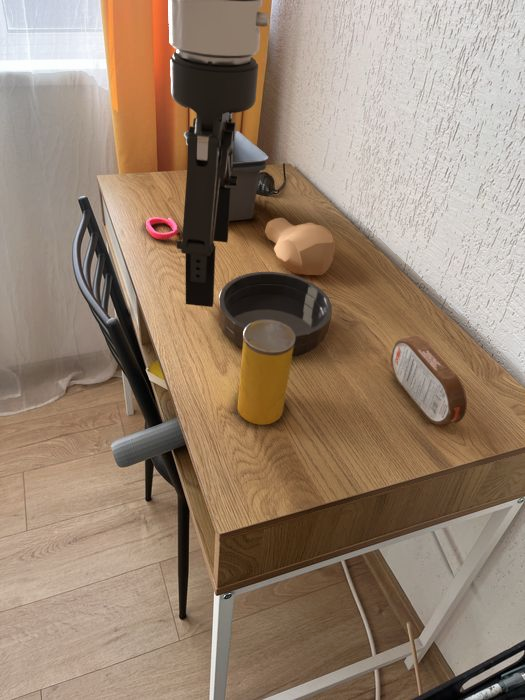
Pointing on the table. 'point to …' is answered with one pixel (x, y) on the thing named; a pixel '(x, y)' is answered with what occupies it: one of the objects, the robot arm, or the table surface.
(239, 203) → the storage bin
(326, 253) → the squash
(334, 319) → the table surface
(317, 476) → the table surface
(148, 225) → the fitness band
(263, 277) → the pan
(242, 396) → the corn can
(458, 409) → the tin
